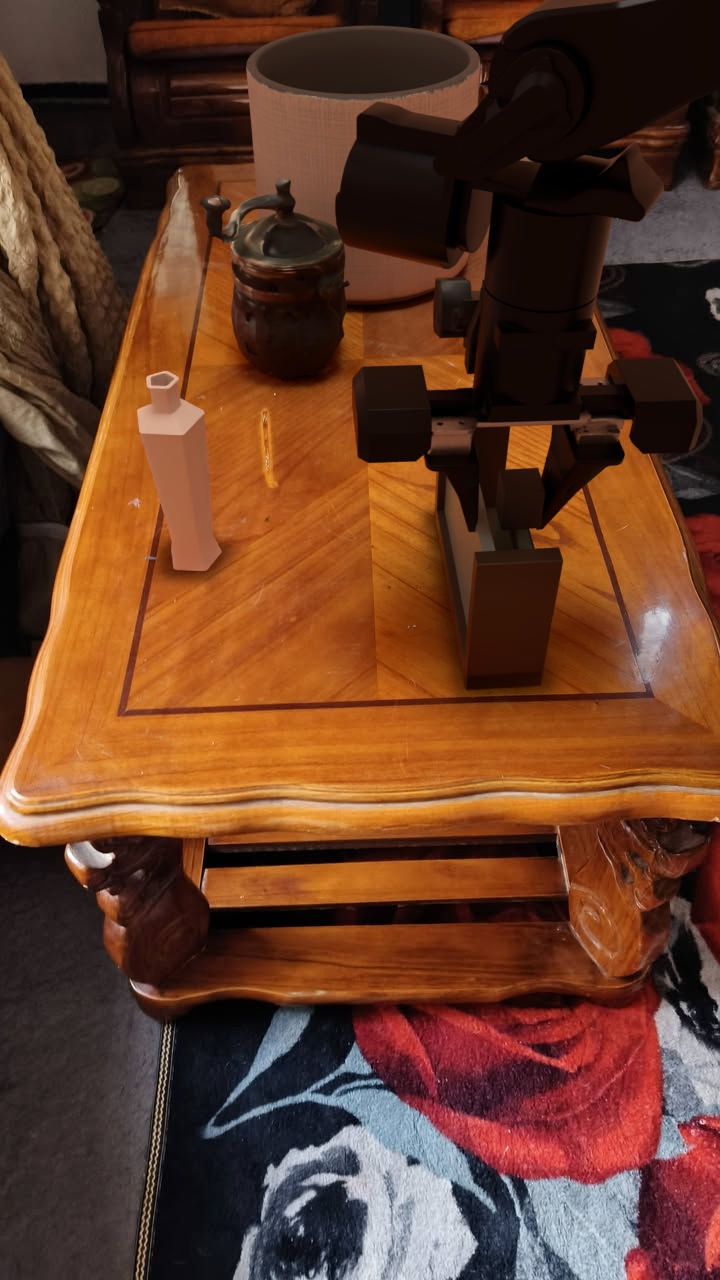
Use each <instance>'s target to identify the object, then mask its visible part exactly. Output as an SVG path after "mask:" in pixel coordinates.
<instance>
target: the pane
mask: <svg viewBox="0 0 720 1280" xmlns="http://www.w3.org/2000/svg"><path fill="white" fill-rule="evenodd" d="M541 476H542V474H541V472H540V470H539V467H528V468H527V467H524V468H523V467H522V468H506V469H503V470H499V475H498V484H497V494H496V503H495V507H496V511H497V516H496V526H495V535H494V546H495V550H496V551H498V550H517V549H536V547H535V544H534V540H533V537H532V534H531V533H532V532H531V530H532V529H535V530H536V528H540V526H541V520H542V513H543V507H544V500H545V494H546V491H545V488H544V485H543V482H542V478H541Z"/></svg>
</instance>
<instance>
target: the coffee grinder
mask: <svg viewBox="0 0 720 1280" xmlns="http://www.w3.org/2000/svg"><path fill="white" fill-rule="evenodd" d="M290 185H291V181H290V180H289V179H287V178H278V179H277V181H276V184H275V187H276V190H277V193H274V194H269V195H264V196H258V197H257V196H253V197H251V198H248V199H246V200H244V201H242V202H241V203H240V204H239V205H238V207H237V208H236V209H235V210H233V212H232V213H231V215H230V216H229V221H228V223H227V225H225V227H223V225H224V224H223V223H224V222H223V214H224V213H225V212H226V211H229V210H230V209H231V208H232V203H231V200H230V199H228V198H225V197H222V196H220V195H219V194H215V195H212V196H210V195H209V196H206V197H203V198H201V199H200V200H199V201H198V205H200V206H201V207H202V208H203V210H204V212H205V218H206V219H205V220H206V221H205V222H206V223H205V224H206V227H207V230H208V236H210V237H212V238H217V239H219V240H221V242H222V243H223V244H229V248H230V249H229V250H230V258H231V271H232V279H233V290H232V299H231V309H230V317H231V324H232V329H233V330H232V331H233V335H234V338H235V340H236V342H237V347H238V350H239V351H240V352H241V353H242V355H243V356H244V358H245V360H246V361H247V362H248V363H249V365H251V366H252V367H253V368H255V369H256V370H257V371H258V372H259V373H261V374H265V375H272V376H274V377H275V378H276V379H277V380H279V381H280V382H284V381H290V380H293V379H295V378H298V377H301V376H305V375H309V376H310V377H314V376H317V375H318V374H319V373H321V372H323V371H324V370H325V369H326V367H327V364H329V362H330V361H331V359H332V358H333V357H334V355H335V353H336V351H337V349H338V348H340V347H339V346H340V344H341V342H342V340H343V338H344V337H345V330H344V327H343V326H344V325H343V324H344V320H345V316H346V313H347V309H348V305H347V302H346V296H345V289H344V287H348V286H349V285H350V283H349V282H348V280H347V281H345V282H344V269H345V246H344V243H343V241H342V239H341V237H340V236H339V233H338V229H336V228H335V227H334V226H333V225H331V224H329V223H326V222H324V221H322V220H317V219H315V218H310V217H308V216H306V215H303V214H300V213H296V212H293V209H294V207H295V204H296V201H295V199H294V197H293V196H292V195H291V193H290ZM258 209H269V210H274V211H275V212H276V213H274V214H271V215H269V216H267V217H264V218H261V219H260V220H259V219H257V220H252V221H248V222H245V221H243V220H244V219H245V217H246V216H247V215H248V214H250V212H253V211H255V210H258Z"/></svg>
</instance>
